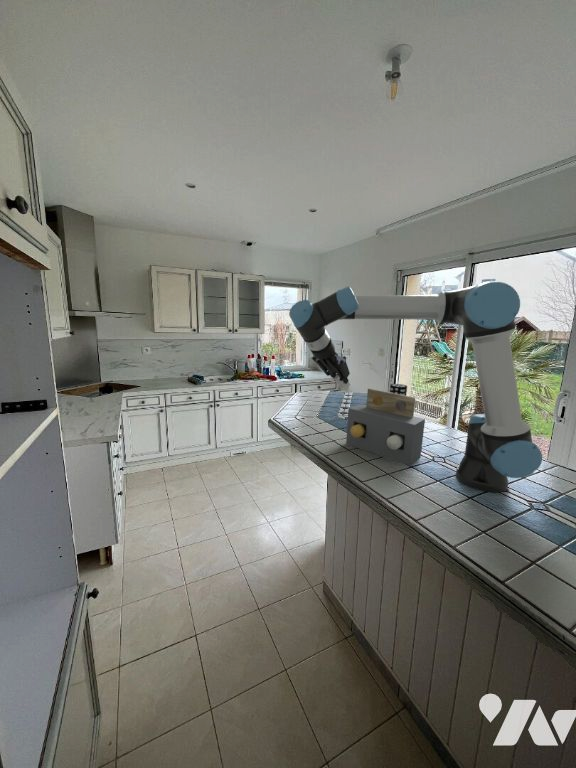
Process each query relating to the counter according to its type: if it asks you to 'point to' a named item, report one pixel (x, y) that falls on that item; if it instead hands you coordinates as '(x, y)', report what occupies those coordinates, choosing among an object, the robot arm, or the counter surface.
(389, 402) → the placard
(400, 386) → the black white block
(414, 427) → the console
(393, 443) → the button ivory
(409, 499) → the counter surface
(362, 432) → the button ochre
